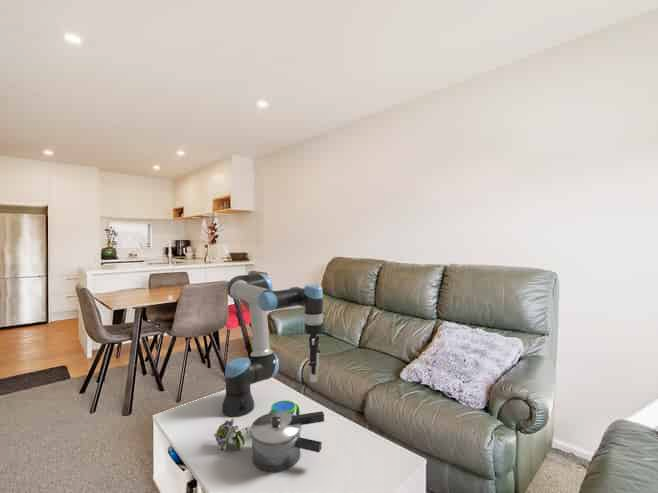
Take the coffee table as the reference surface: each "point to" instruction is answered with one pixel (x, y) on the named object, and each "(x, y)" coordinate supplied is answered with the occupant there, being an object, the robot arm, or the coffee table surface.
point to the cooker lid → (281, 426)
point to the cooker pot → (281, 453)
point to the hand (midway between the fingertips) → (314, 374)
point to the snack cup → (285, 407)
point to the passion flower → (229, 435)
